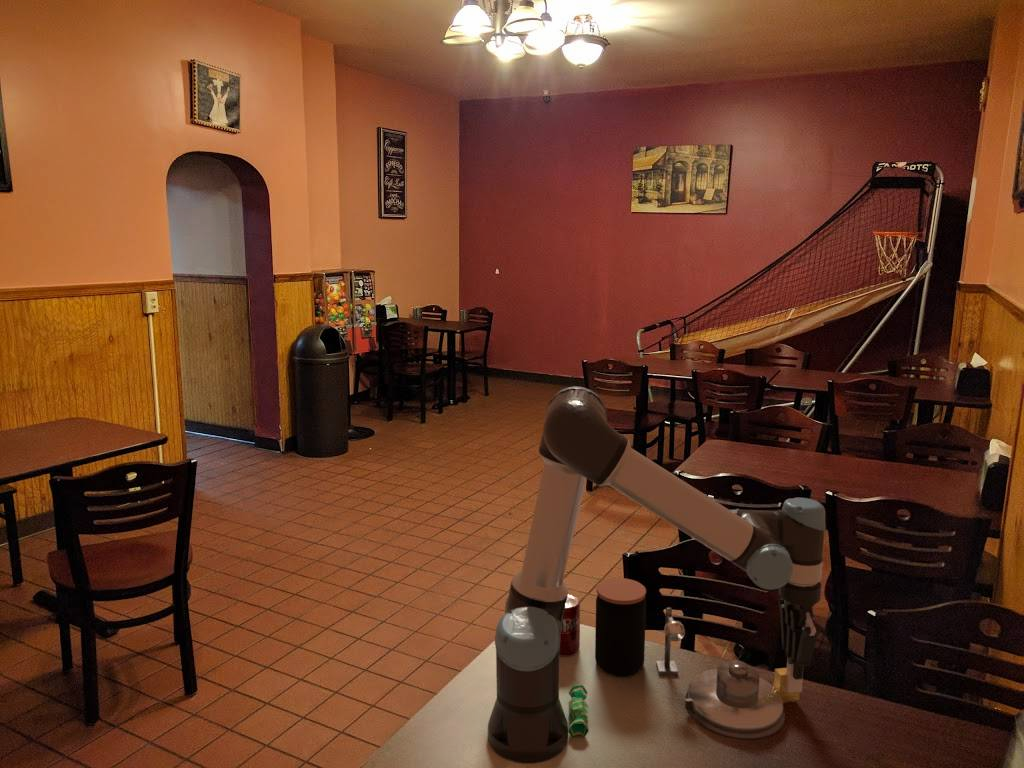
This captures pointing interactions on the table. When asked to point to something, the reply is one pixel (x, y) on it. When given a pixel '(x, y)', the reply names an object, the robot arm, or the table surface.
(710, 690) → the turntable
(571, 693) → the candy
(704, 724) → the turntable base
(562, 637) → the soda can
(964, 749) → the table surface
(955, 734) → the table surface
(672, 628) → the dial stand
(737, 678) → the cover
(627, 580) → the coffee jar
